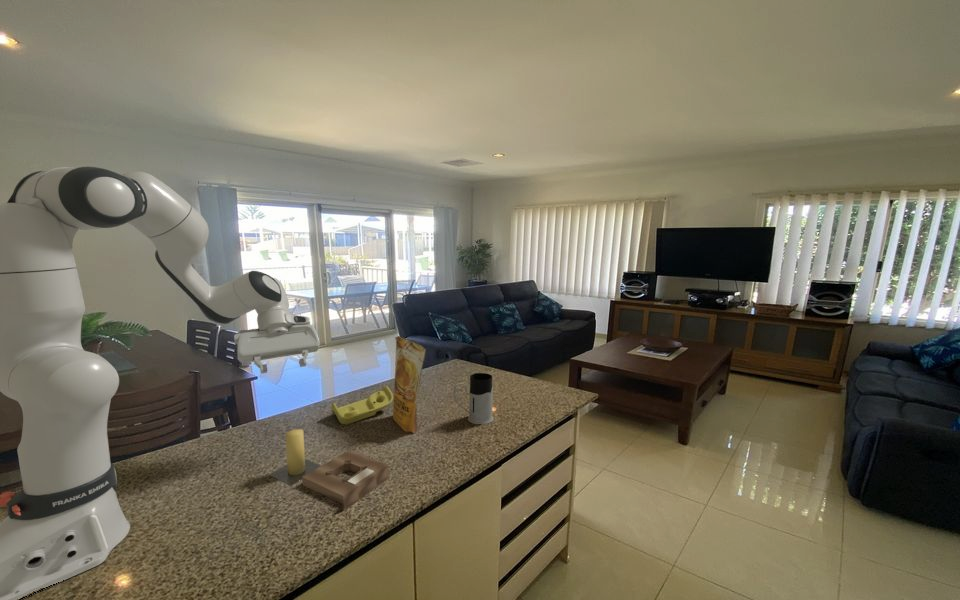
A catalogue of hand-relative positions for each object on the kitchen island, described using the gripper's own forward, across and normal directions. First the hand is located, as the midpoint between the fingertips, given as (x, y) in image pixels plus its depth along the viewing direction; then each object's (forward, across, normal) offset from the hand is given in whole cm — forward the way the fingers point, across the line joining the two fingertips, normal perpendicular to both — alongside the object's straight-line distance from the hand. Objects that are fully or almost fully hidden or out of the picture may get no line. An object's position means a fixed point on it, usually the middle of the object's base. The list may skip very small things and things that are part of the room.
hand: (284, 368), depth 101 cm
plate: (+26, 0, +9) cm, 27 cm away
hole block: (+33, +9, +2) cm, 35 cm away
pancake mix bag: (+18, +35, +18) cm, 43 cm away
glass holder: (+26, +54, +10) cm, 61 cm away
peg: (+25, 0, +8) cm, 26 cm away
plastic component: (+8, +26, +29) cm, 40 cm away
